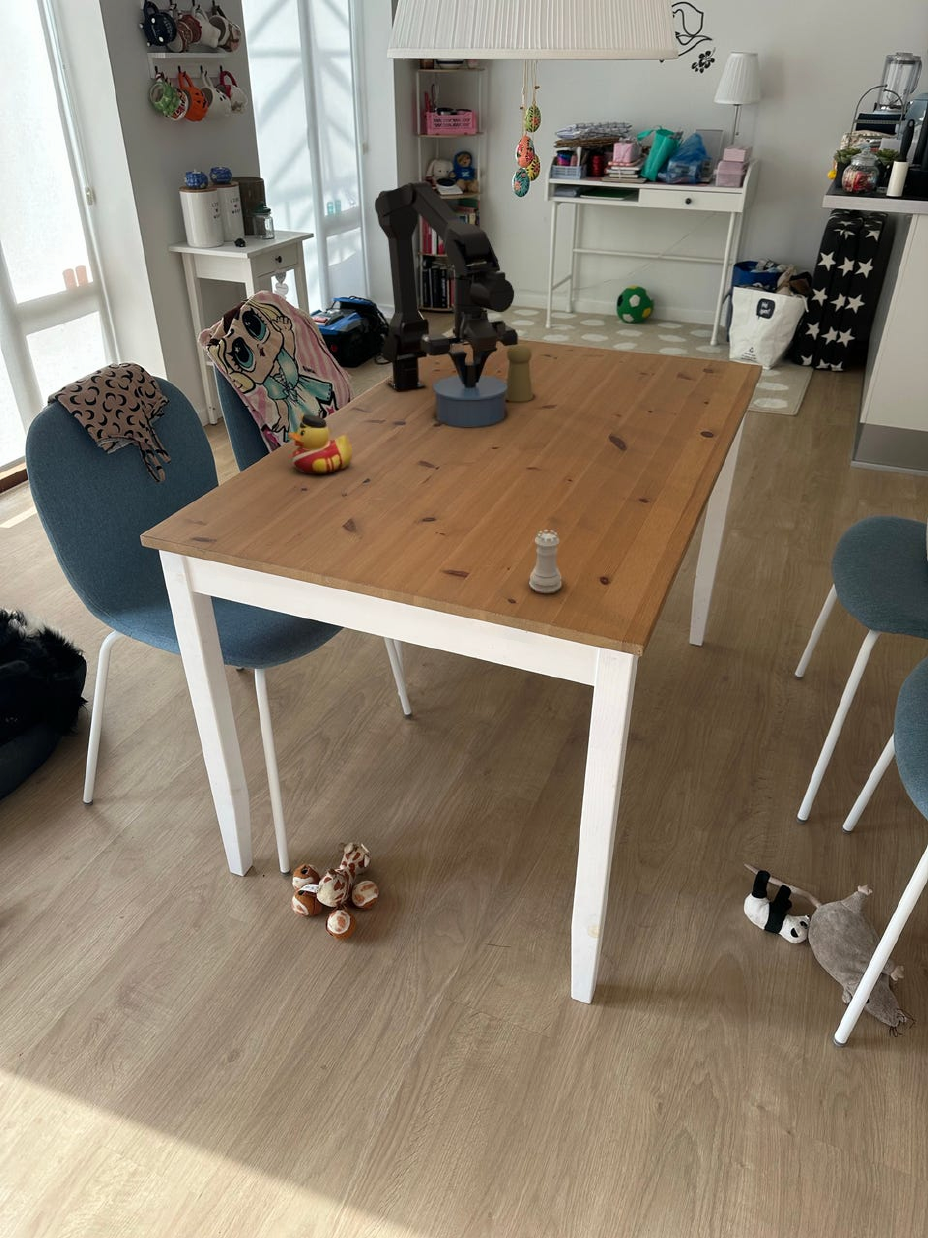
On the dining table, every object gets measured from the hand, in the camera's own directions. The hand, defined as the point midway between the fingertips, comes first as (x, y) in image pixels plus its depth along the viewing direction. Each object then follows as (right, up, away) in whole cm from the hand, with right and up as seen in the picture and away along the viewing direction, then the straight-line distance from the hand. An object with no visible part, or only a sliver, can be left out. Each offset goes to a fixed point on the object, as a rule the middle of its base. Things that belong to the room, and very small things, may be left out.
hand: (470, 383), depth 176 cm
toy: (-26, -20, -19) cm, 38 cm away
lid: (0, -1, +1) cm, 1 cm away
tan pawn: (+10, 0, +13) cm, 17 cm away
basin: (0, -6, +4) cm, 7 cm away
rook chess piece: (+10, -43, -56) cm, 71 cm away
